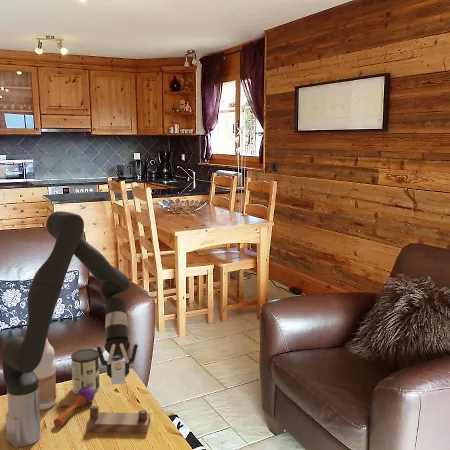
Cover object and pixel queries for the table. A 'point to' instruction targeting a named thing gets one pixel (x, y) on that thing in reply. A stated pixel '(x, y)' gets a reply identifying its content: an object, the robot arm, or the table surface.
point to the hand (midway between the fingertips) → (118, 376)
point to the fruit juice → (46, 378)
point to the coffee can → (85, 369)
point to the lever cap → (118, 370)
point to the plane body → (117, 422)
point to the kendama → (76, 405)
